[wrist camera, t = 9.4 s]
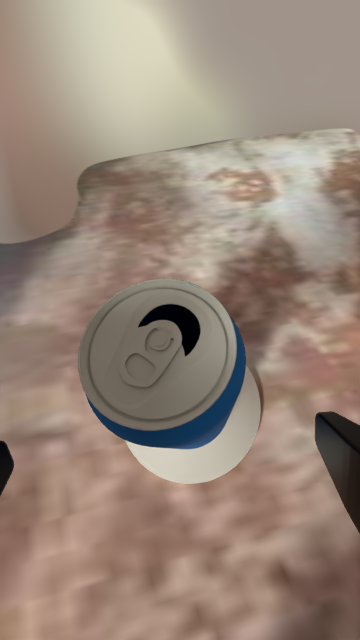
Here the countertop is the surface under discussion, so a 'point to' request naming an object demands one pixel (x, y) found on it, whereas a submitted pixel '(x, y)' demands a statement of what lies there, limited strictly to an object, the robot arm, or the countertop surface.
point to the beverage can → (162, 364)
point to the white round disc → (209, 444)
